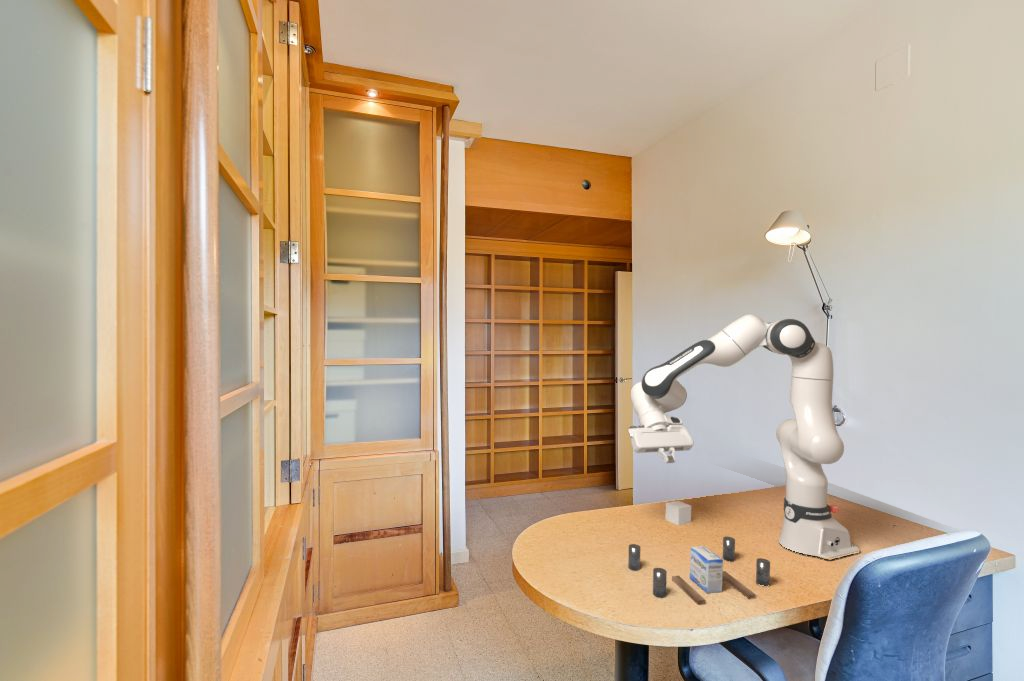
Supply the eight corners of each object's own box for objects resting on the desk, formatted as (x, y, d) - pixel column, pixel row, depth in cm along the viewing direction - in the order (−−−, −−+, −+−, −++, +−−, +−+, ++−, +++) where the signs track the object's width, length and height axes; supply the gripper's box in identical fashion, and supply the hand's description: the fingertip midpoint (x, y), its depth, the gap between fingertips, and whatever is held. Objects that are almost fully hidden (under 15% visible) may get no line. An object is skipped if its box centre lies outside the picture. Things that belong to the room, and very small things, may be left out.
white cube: (677, 517, 175) (678, 500, 175) (690, 522, 170) (691, 505, 169) (665, 519, 172) (665, 502, 172) (678, 525, 167) (678, 508, 167)
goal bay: (724, 574, 133) (725, 571, 133) (755, 598, 121) (755, 594, 121) (671, 579, 130) (672, 576, 130) (698, 604, 118) (698, 600, 118)
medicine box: (689, 578, 131) (689, 546, 130) (703, 577, 132) (704, 545, 131) (707, 594, 123) (708, 560, 123) (722, 592, 124) (723, 558, 124)
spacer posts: (729, 556, 144) (730, 536, 144) (772, 586, 127) (773, 563, 127) (626, 565, 137) (626, 544, 137) (656, 598, 120) (657, 574, 120)
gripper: (629, 420, 157) (643, 458, 147) (686, 418, 161) (703, 455, 152) (623, 431, 161) (636, 469, 152) (678, 429, 166) (694, 465, 156)
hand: (670, 462), depth 152 cm, fingers closed
